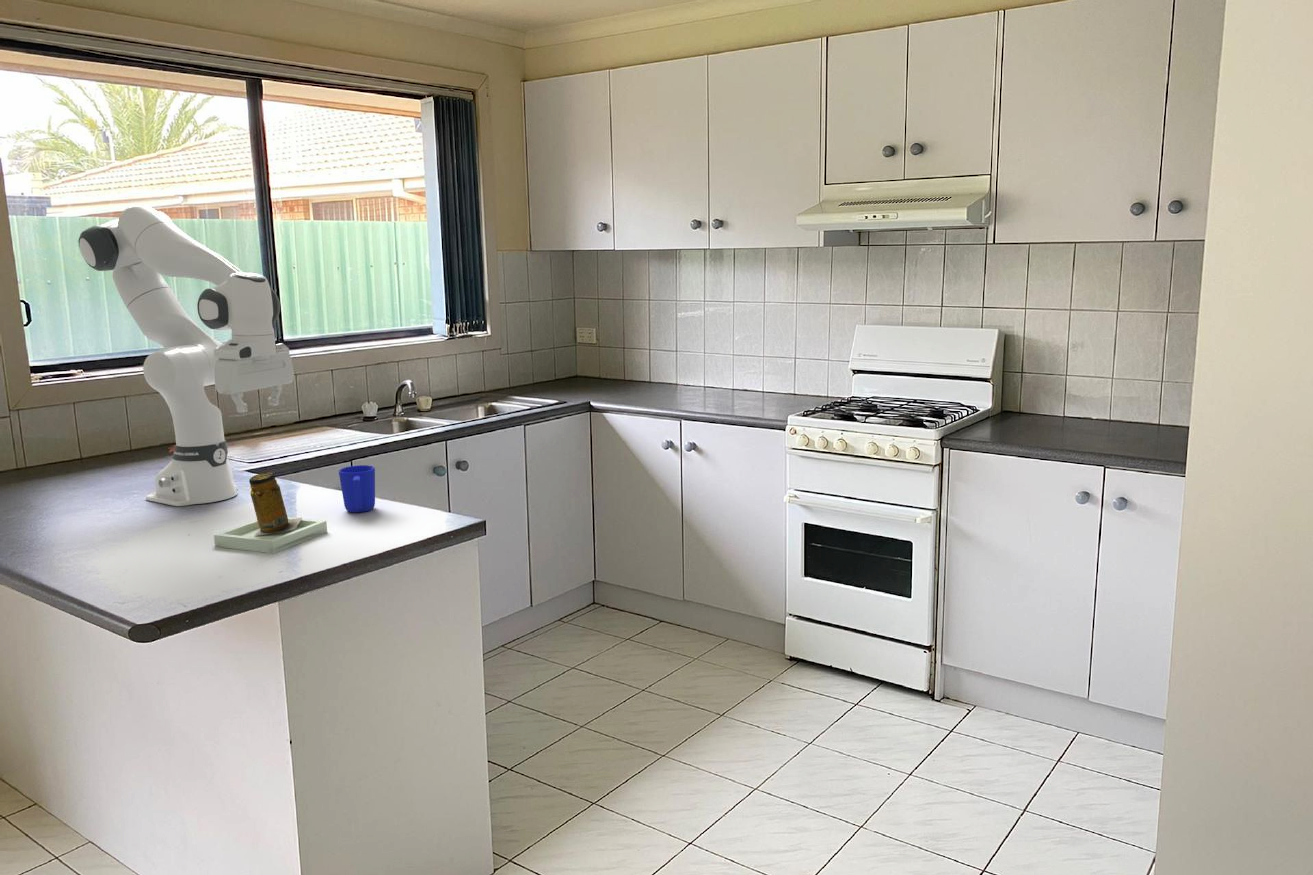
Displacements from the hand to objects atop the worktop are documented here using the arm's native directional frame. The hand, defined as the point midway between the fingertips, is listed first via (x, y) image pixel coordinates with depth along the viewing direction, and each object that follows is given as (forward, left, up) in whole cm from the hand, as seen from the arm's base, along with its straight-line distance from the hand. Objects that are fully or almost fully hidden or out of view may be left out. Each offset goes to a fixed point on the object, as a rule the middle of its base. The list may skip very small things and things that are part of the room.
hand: (258, 408), depth 223 cm
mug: (+15, +13, -27) cm, 33 cm away
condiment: (+10, -8, -25) cm, 28 cm away
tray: (+11, -11, -26) cm, 30 cm away
